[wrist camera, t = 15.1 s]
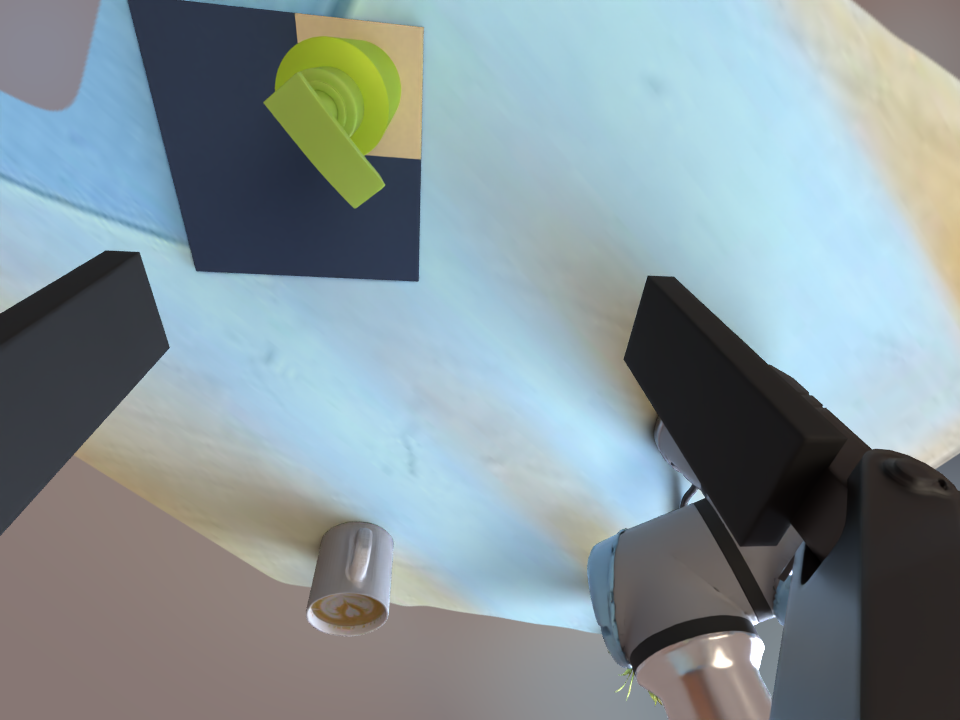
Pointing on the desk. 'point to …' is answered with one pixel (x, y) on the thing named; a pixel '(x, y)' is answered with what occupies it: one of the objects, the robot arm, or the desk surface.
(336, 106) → the soap dispenser
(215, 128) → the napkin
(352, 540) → the coffee mug
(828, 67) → the desk surface
